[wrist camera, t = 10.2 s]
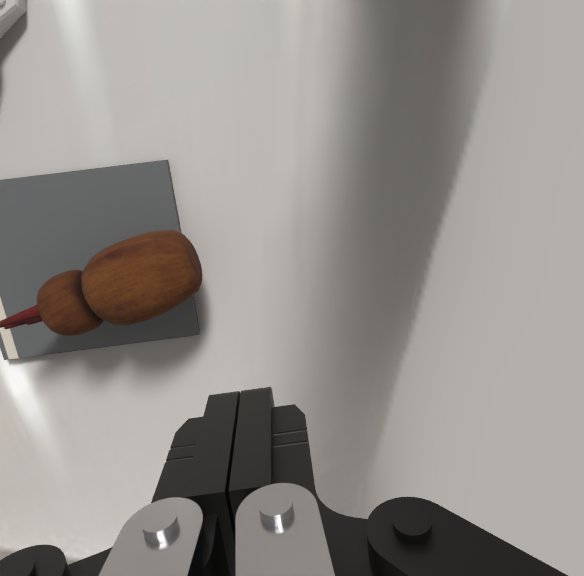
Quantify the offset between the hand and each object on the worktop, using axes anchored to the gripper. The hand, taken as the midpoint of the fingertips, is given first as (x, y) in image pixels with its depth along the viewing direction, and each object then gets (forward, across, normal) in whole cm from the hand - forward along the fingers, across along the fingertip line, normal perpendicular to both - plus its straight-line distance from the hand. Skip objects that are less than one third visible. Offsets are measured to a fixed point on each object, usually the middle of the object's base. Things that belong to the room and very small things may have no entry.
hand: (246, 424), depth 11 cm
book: (+26, +14, 0) cm, 30 cm away
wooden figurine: (+22, +5, 0) cm, 23 cm away
